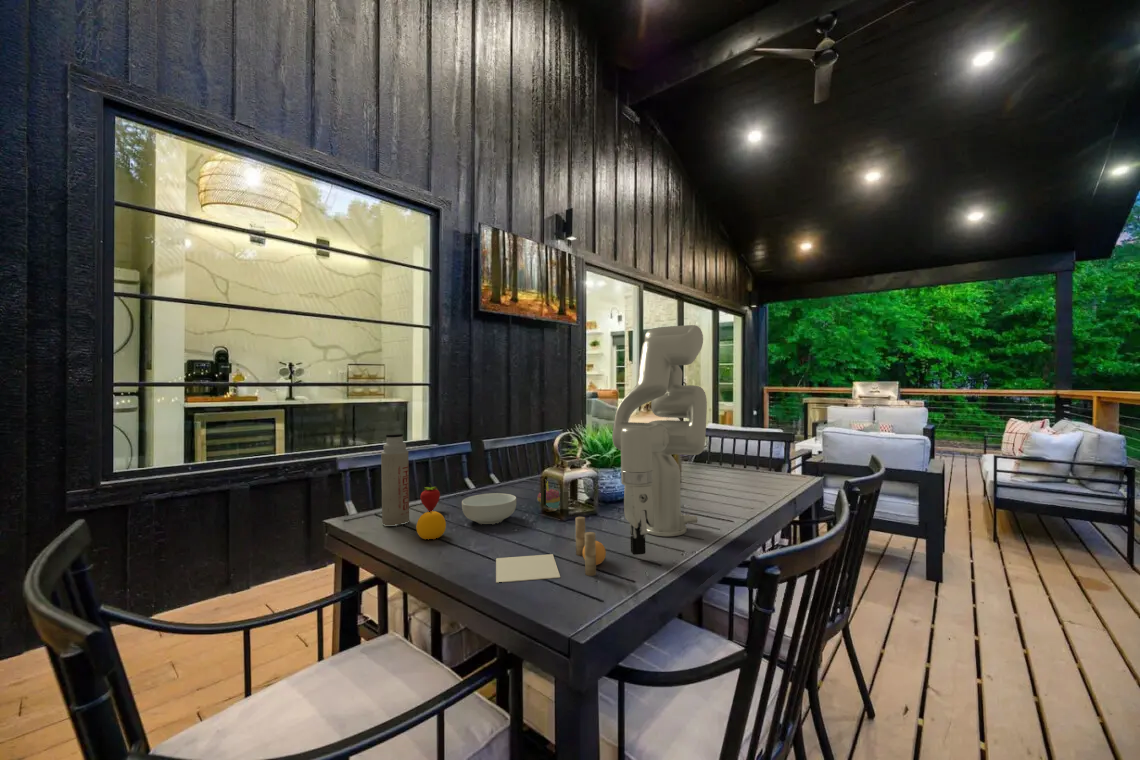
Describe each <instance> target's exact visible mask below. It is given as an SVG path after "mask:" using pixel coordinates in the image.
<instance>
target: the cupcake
mask: <svg viewBox="0 0 1140 760" xmlns="http://www.w3.org/2000/svg"><path fill="white" fill-rule="evenodd" d="M545 487H546V489H545V490H546V505H547V506H548V507H552V508H558V509H559V505H560V503H561V502H560V496H559V492H560V491H559V490H557V489H555V488H549V481H547V483H546V482H545ZM537 501H538V502H539V503H540V504H541V493H540V492H538V494H537ZM559 502H560V503H559Z"/></svg>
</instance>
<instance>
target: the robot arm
mask: <svg viewBox="0 0 1140 760" xmlns="http://www.w3.org/2000/svg"><path fill="white" fill-rule="evenodd" d="M703 345H704V334H703V331H702V329H701V328H700V326H698V325H697V324H687V325H671V326H658V327H654V328H653V327H652V328H651V329H649V330H647V332H646V333H645V335H644V342H643V343H642V347H641V352H640V360H639V364H638V365H639V366H638V373H637V380H636V385H635V386H634V387H633V388H631V390H630V391H629V392H628V393H627V394H626V395H625V396H624V397H623V398H622V400H621V401H620V403H619V404H618V406H617V408H616V412H615V415H614V422H613V427H612V443H613V445H614V447H615V448H616V449H617V450H618V451H620V469H621V471H620V473H621V474H620V476H621V477H620V478H621V479H620V480H621V484H622V485H623V486H624V487H623V489H624V491H623V493H624V496H623V511H624V518H625V519H626V521H627V523H629V529H630V531H629V532H630V552H631V553H632V555H634V556H636V555H646V551H647V550H646V535H648V534H649V535H652V536H657V537H678V536H681V535H685V534H686V533H687V531H688V529H687V524H696V523H698V516H697V515H690V514H682V510H681V509H682V507H681V506H682V505H681V502H682V500H681V495H682V494H681V470H680V467H679V464H678V462H677V461H676V459H675V458H674V457H673V456H672V455H684V456H687V455H688V456H697V455H700V454H702V453H703V452H704V450H705V446H706V434H707V432H706V430H707V414H708V410H707V408H708V404H707V403H708V402H707V394H706V391H705V390H704V388H702V386H698V385H685V384H684V385H682V383H683V370H682V369H681V367H680V366H688V365H691V364H693V363H694V362H695V361H696V359H697V357H698V355H699V354H700V352H701V350H702V348H703ZM650 402H651V405H650V406H651V411H652V414H654V415H655V416H656V417H660V418H669V419H670V418H672V419H673V418H674V419H688V420H667V419H666V420H665V419H663V420H662V419H661V420H659V419H657V420H651V421H649V422H635V421H632V422H630V421H629V420H630V417H631V415H632V414H633V413H634V412H635V411H636V410H637V409H638V408H640V407H641V406H643V405H645V404H647V403H650Z"/></svg>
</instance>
